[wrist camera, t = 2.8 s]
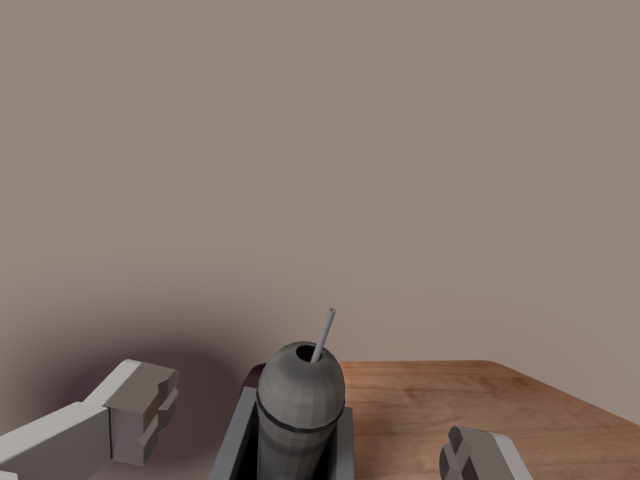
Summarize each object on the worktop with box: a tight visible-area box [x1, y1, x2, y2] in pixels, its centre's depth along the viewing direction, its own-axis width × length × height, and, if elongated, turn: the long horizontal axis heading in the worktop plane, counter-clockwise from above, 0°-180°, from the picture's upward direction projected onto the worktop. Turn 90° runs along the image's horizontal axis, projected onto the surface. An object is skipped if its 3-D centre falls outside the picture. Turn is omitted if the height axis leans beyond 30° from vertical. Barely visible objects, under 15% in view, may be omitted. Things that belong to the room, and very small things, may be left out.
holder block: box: [209, 387, 354, 480], centre depth 29 cm, size 12×12×5 cm
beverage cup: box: [256, 308, 345, 480], centre depth 26 cm, size 7×7×20 cm
